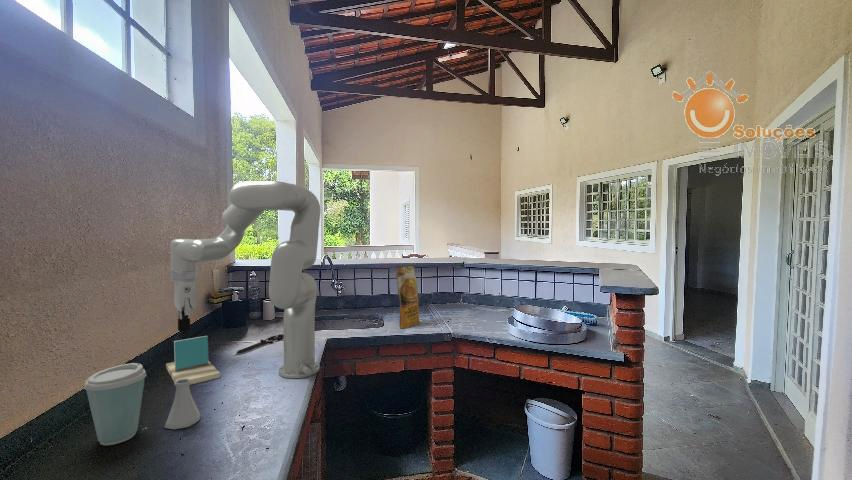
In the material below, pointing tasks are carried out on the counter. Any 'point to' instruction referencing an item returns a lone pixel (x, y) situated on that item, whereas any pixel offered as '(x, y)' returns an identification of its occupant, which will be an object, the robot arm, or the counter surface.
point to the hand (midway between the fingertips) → (183, 330)
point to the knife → (260, 344)
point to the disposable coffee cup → (116, 401)
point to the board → (193, 373)
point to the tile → (191, 352)
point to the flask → (182, 407)
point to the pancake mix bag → (407, 296)
